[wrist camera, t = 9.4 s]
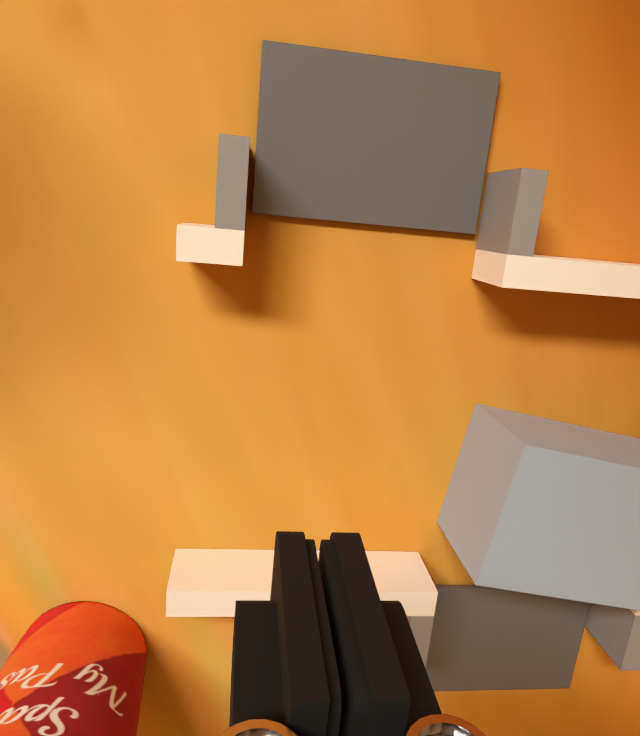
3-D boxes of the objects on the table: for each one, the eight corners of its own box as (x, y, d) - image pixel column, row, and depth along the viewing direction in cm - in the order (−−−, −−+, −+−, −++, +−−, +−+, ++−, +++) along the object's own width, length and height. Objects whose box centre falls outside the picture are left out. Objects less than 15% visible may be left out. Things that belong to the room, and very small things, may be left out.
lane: (192, 32, 21) (183, 3, 18) (782, 113, 24) (855, 99, 21) (170, 691, 28) (161, 747, 25) (626, 682, 31) (664, 730, 28)
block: (474, 401, 26) (525, 444, 21) (664, 443, 28) (751, 491, 23) (435, 519, 27) (475, 585, 22) (619, 551, 29) (692, 618, 24)
